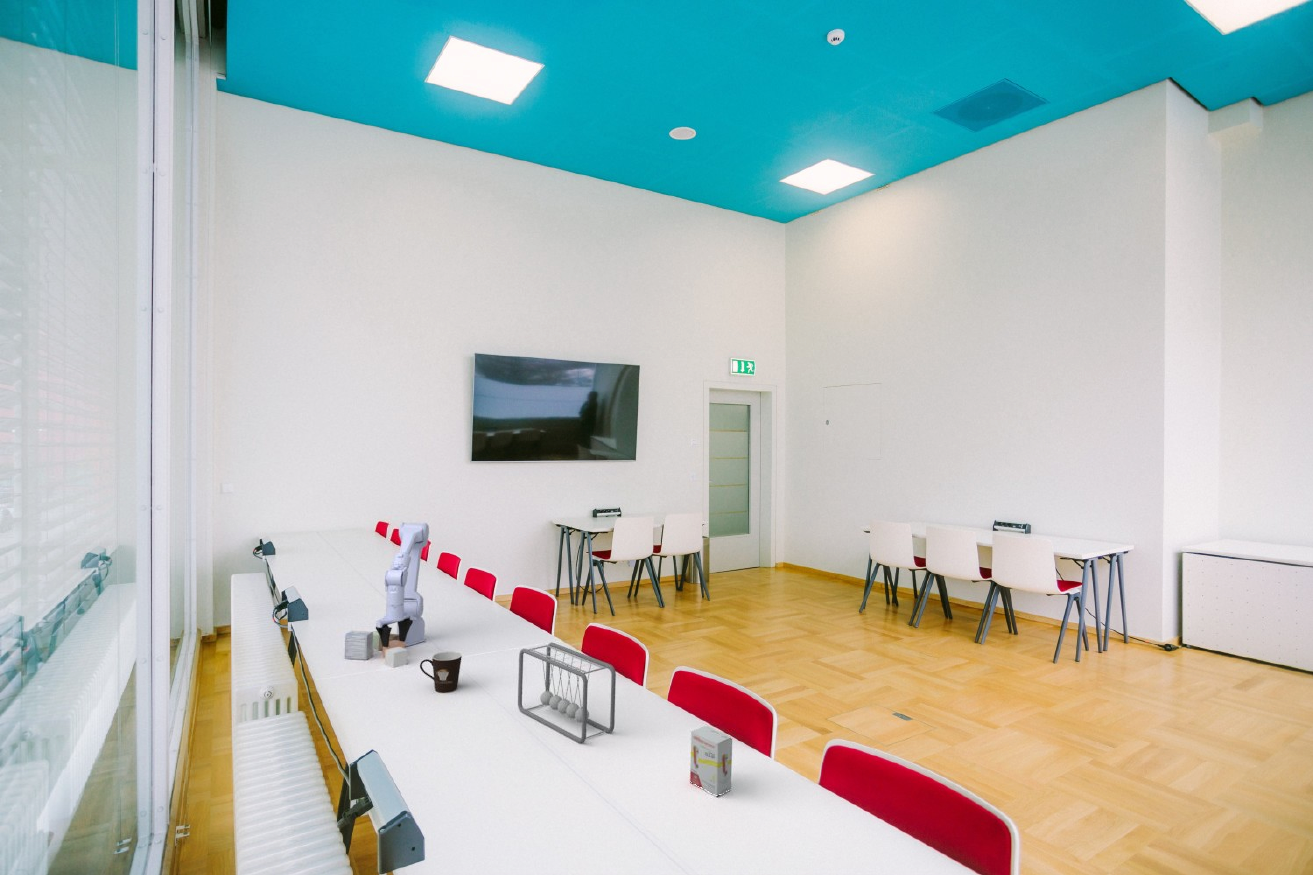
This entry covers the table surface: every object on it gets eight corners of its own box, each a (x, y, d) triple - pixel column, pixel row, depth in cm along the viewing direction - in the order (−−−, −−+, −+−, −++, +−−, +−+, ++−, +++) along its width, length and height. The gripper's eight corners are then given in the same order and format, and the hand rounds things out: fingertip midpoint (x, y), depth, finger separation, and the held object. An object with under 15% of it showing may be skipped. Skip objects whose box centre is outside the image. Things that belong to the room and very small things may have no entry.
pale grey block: (398, 661, 230) (399, 646, 230) (407, 664, 227) (407, 649, 227) (385, 664, 226) (385, 649, 227) (393, 668, 223) (393, 652, 223)
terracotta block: (394, 654, 238) (394, 639, 238) (404, 656, 236) (404, 642, 236) (382, 657, 234) (383, 643, 234) (392, 660, 231) (393, 645, 231)
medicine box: (372, 656, 234) (373, 631, 235) (366, 660, 230) (366, 634, 230) (351, 655, 235) (351, 630, 235) (344, 659, 231) (344, 633, 231)
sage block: (373, 644, 248) (373, 631, 248) (387, 645, 248) (387, 631, 248) (367, 648, 243) (368, 634, 243) (382, 649, 243) (382, 635, 243)
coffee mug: (466, 687, 208) (467, 654, 208) (447, 696, 200) (448, 662, 200) (437, 680, 213) (438, 648, 213) (417, 689, 205) (418, 655, 205)
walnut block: (387, 647, 246) (387, 633, 246) (399, 648, 245) (400, 634, 245) (378, 651, 241) (379, 636, 241) (391, 652, 240) (391, 638, 240)
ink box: (688, 782, 152) (689, 729, 152) (704, 776, 156) (705, 724, 156) (716, 798, 146) (717, 742, 146) (731, 790, 149) (733, 736, 149)
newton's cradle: (516, 710, 191) (518, 647, 191) (547, 701, 198) (549, 640, 198) (583, 746, 169) (585, 674, 170) (615, 734, 177) (616, 666, 177)
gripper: (402, 598, 243) (401, 637, 243) (369, 606, 230) (368, 647, 230) (417, 601, 240) (416, 639, 240) (385, 609, 227) (383, 650, 227)
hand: (393, 643), depth 235 cm, fingers open, 7 cm apart
